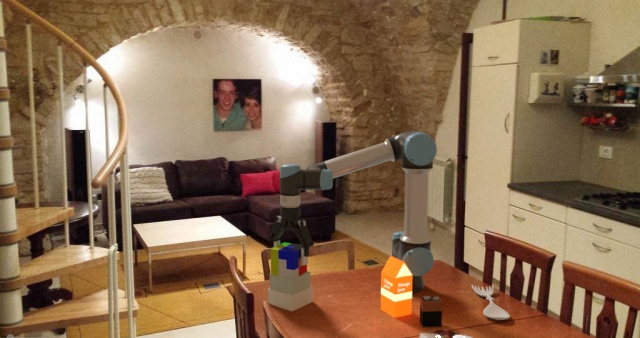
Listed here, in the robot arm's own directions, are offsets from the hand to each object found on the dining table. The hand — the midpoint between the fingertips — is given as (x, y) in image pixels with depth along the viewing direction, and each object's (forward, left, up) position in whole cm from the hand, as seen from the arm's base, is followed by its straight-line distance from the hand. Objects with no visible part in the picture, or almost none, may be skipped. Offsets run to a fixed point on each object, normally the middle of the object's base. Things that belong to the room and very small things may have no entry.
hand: (290, 261), depth 205 cm
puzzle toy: (0, +1, -5) cm, 5 cm away
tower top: (0, 0, -10) cm, 11 cm away
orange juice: (-36, -17, -16) cm, 43 cm away
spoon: (-61, -43, -17) cm, 77 cm away
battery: (-51, -14, -16) cm, 56 cm away
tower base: (0, 0, -16) cm, 17 cm away
